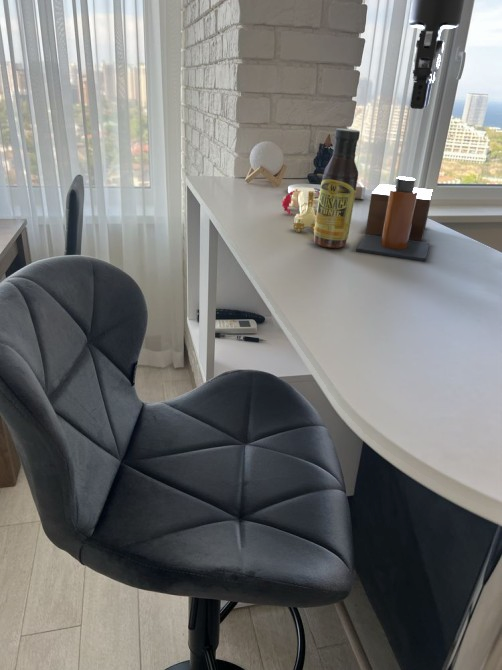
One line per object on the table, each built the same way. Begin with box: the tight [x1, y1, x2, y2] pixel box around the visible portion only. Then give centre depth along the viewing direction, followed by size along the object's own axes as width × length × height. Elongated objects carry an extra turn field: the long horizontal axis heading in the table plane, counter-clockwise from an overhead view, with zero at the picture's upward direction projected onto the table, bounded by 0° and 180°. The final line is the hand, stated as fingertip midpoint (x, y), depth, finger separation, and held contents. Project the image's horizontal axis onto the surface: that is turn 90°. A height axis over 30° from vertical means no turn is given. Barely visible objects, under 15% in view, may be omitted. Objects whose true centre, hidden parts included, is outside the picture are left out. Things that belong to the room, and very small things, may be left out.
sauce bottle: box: [313, 128, 361, 249], centre depth 89 cm, size 6×6×20 cm
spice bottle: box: [381, 176, 418, 249], centre depth 90 cm, size 5×5×12 cm
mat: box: [355, 233, 430, 262], centre depth 93 cm, size 12×11×1 cm
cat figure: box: [281, 187, 320, 233], centre depth 109 cm, size 10×9×25 cm
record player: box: [287, 181, 366, 200], centre depth 137 cm, size 12×3×20 cm
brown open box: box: [365, 183, 434, 242], centre depth 104 cm, size 11×12×8 cm
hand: (419, 108), depth 83 cm, fingers open, 8 cm apart
